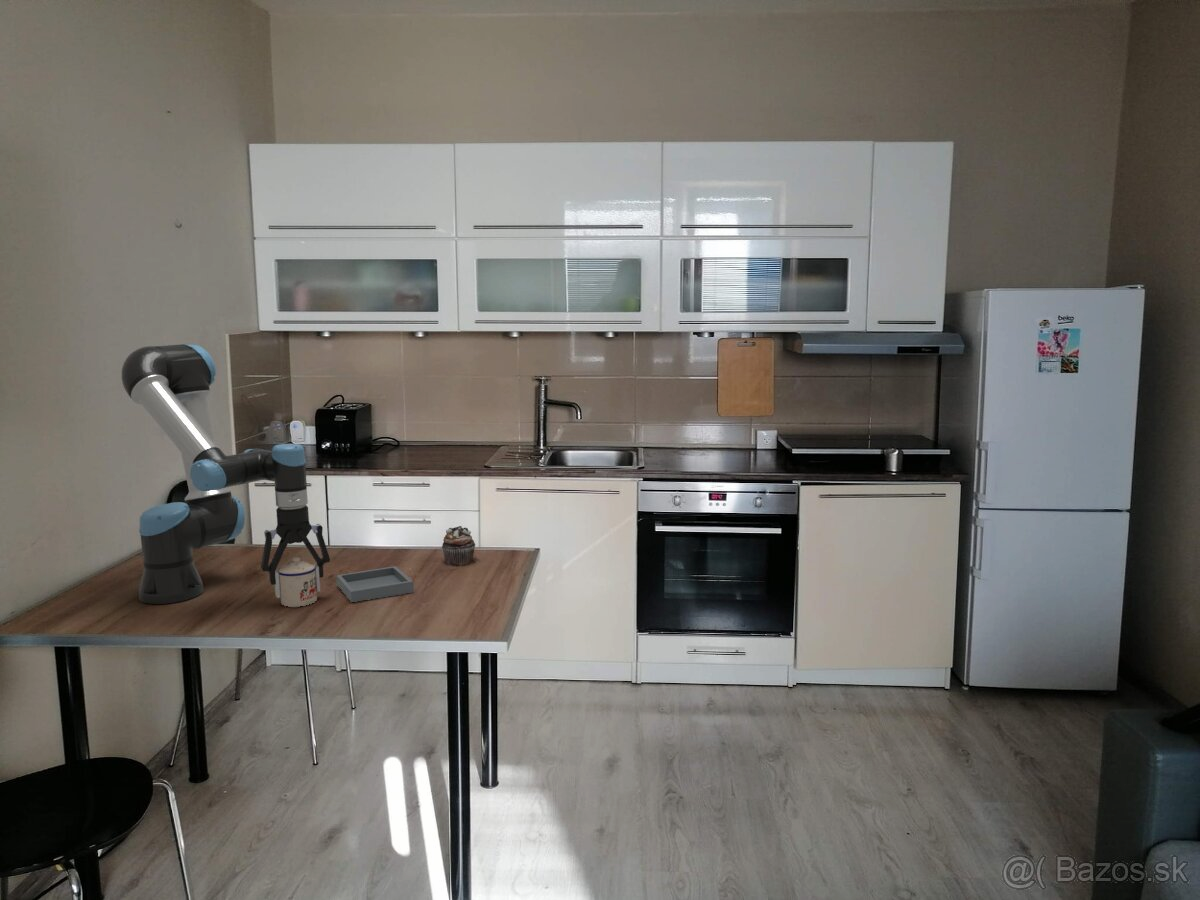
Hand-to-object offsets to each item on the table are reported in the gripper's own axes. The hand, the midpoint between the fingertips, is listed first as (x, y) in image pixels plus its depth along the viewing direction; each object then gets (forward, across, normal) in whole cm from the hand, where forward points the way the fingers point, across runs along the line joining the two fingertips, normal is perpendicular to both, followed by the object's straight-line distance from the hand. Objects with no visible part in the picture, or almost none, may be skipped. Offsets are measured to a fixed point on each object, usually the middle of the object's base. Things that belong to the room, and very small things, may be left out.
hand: (297, 593), depth 228 cm
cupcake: (+2, +47, +12) cm, 49 cm away
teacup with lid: (+2, +1, 0) cm, 2 cm away
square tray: (+2, +19, -1) cm, 19 cm away
